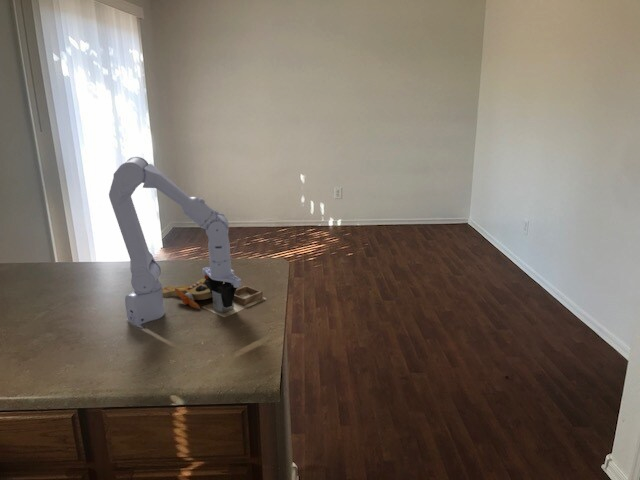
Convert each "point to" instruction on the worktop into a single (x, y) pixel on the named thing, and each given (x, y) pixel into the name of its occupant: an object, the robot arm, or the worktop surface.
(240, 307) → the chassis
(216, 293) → the grey rectangular block
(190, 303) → the toy helicopter
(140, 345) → the worktop surface
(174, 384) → the worktop surface
